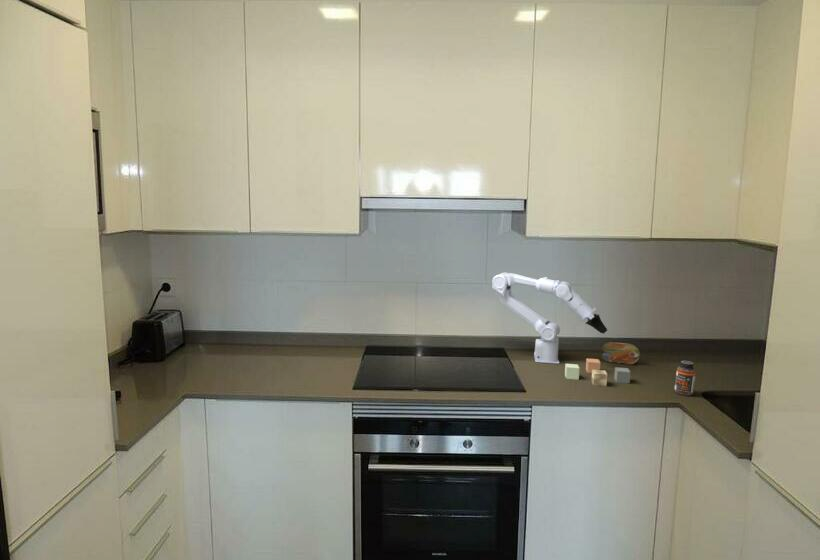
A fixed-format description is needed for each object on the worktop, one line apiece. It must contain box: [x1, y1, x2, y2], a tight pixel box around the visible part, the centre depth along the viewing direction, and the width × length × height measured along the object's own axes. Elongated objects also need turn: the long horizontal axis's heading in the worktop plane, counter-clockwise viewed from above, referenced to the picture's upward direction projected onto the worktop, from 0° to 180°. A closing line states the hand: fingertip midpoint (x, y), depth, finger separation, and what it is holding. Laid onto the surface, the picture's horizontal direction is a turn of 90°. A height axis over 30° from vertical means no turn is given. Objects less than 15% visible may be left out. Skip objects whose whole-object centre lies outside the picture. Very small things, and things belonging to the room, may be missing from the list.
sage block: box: [564, 363, 580, 381], centre depth 199 cm, size 4×4×4 cm
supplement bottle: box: [674, 360, 697, 397], centre depth 185 cm, size 6×6×11 cm
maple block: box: [590, 369, 608, 387], centre depth 193 cm, size 4×4×4 cm
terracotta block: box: [585, 358, 601, 374], centre depth 207 cm, size 4×4×4 cm
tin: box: [600, 341, 641, 365], centre depth 219 cm, size 15×3×8 cm, turn 72°
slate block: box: [613, 366, 631, 384], centre depth 197 cm, size 4×4×4 cm
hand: (604, 331), depth 208 cm, fingers open, 7 cm apart
